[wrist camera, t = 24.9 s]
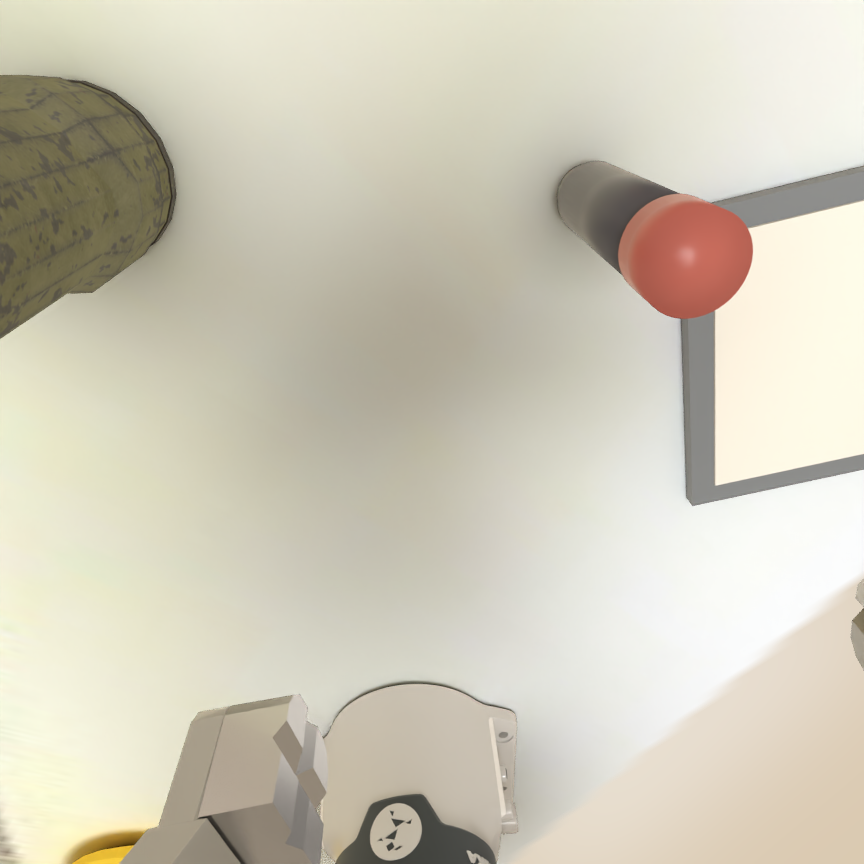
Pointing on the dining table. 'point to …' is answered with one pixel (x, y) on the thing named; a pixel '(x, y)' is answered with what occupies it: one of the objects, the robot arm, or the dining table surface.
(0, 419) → the dining table surface
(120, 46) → the dining table surface
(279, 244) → the dining table surface
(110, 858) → the yellow lid
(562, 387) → the dining table surface
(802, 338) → the writing board
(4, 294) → the thermos
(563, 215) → the marker
